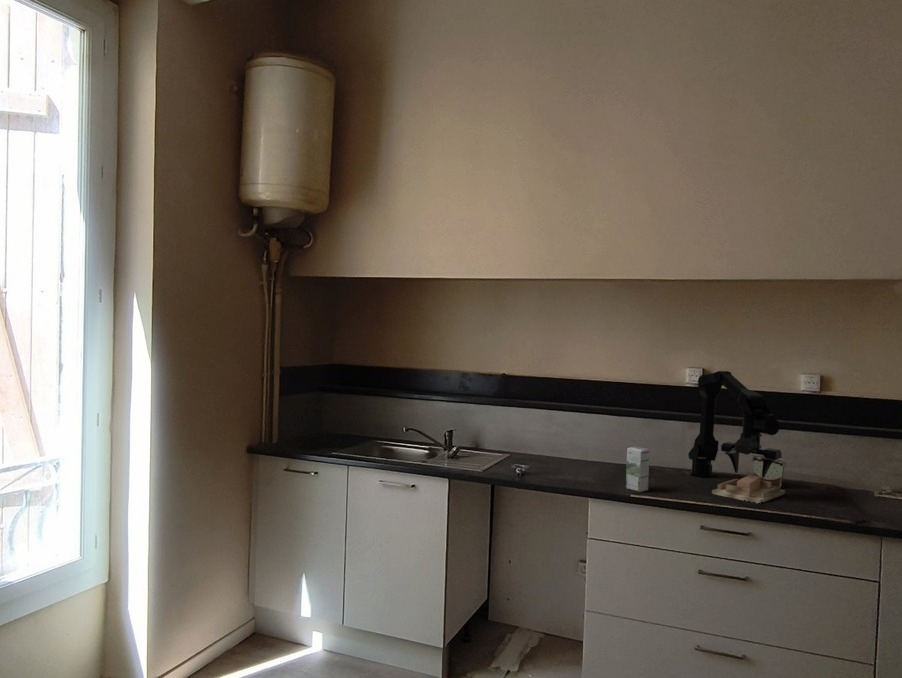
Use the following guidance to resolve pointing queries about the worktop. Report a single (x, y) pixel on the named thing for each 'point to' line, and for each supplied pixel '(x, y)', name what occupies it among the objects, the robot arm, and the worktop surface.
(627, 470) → the syrup box
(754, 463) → the food container
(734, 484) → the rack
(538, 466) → the worktop surface
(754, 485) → the pinkish brown block
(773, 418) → the robot arm
